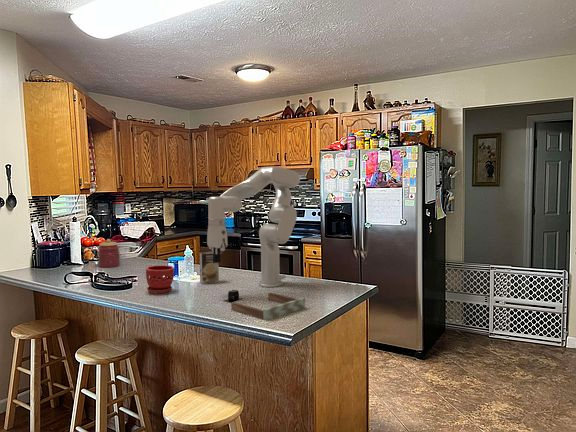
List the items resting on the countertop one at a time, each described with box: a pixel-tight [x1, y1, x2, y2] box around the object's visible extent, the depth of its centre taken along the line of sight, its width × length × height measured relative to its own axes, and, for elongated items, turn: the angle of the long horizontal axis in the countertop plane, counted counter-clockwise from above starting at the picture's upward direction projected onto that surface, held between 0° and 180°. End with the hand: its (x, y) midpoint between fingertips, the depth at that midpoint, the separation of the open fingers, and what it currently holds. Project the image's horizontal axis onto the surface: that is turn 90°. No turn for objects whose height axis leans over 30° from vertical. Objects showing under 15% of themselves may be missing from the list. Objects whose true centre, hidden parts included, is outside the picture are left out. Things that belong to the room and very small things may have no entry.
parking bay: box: [230, 292, 306, 321], centre depth 180 cm, size 23×20×4 cm
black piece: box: [222, 289, 245, 304], centre depth 195 cm, size 12×7×5 cm, turn 145°
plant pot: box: [145, 264, 175, 294], centre depth 210 cm, size 13×13×12 cm
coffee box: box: [199, 251, 220, 285], centre depth 230 cm, size 9×6×16 cm
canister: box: [97, 238, 121, 269], centre depth 278 cm, size 13×13×18 cm
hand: (216, 262), depth 202 cm, fingers closed
